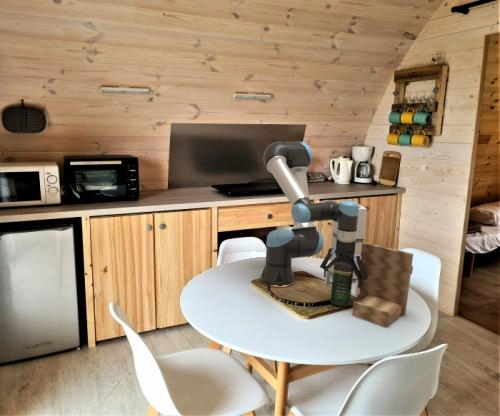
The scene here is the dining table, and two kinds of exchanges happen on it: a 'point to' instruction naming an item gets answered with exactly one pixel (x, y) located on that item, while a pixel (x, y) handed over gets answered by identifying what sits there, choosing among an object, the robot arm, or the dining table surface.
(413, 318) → the dining table surface
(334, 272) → the coffee jar
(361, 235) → the grey seamed pillar
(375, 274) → the wooden stand
